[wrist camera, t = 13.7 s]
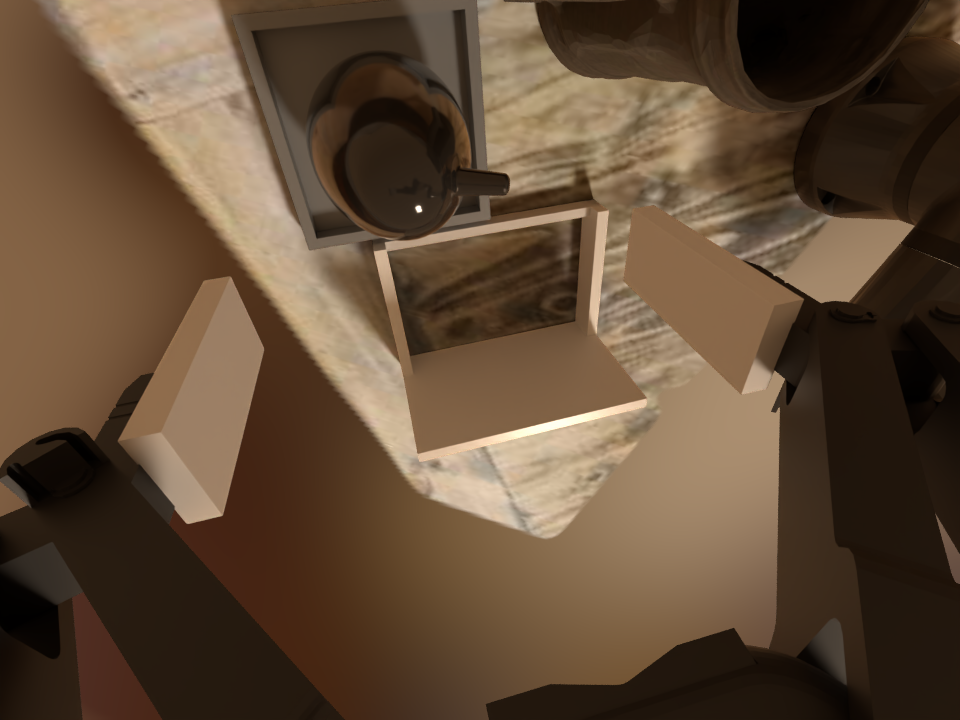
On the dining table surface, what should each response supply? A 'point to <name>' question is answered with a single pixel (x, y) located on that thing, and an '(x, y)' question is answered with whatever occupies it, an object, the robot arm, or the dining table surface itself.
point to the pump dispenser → (393, 146)
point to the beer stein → (731, 44)
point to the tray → (327, 41)
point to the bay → (513, 355)
